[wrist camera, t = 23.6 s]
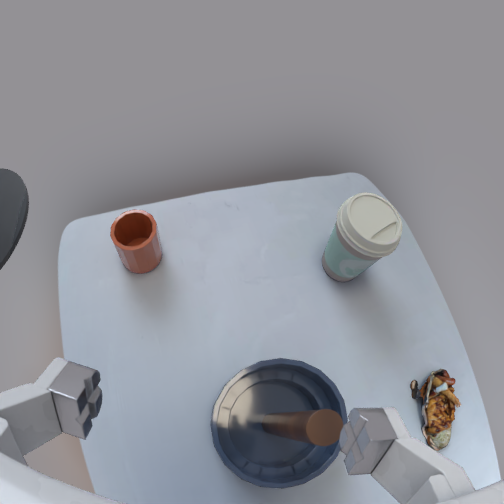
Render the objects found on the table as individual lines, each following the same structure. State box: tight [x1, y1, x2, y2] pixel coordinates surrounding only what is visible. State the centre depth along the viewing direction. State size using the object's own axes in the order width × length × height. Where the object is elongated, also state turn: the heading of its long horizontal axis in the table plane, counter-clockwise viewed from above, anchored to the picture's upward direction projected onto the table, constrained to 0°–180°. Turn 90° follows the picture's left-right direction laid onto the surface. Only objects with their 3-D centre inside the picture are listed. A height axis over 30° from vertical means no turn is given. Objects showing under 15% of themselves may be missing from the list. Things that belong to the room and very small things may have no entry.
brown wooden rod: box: [262, 409, 343, 446], centre depth 26 cm, size 3×3×18 cm
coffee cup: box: [322, 193, 402, 282], centre depth 41 cm, size 8×9×12 cm
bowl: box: [211, 358, 348, 488], centre depth 32 cm, size 14×14×6 cm
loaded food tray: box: [411, 369, 461, 451], centre depth 35 cm, size 7×12×4 cm, turn 13°
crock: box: [110, 209, 162, 274], centre depth 40 cm, size 6×6×6 cm
